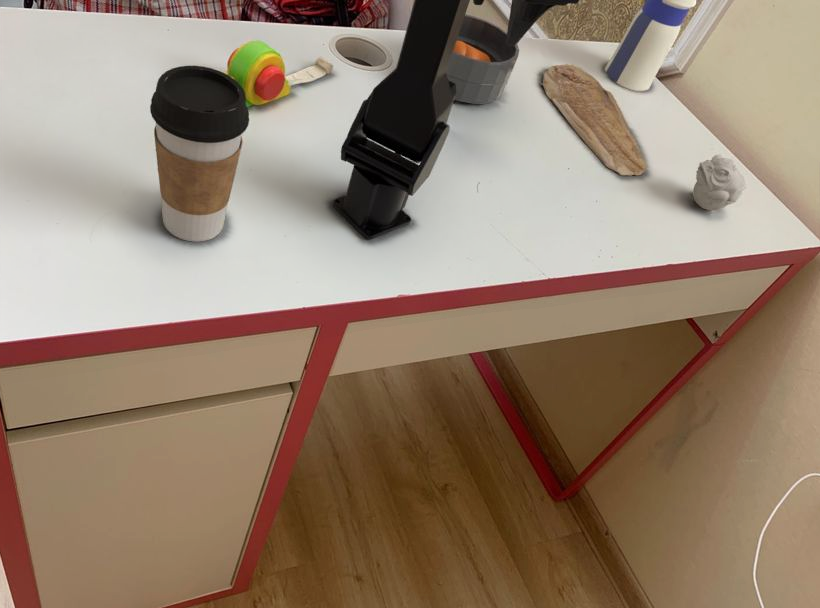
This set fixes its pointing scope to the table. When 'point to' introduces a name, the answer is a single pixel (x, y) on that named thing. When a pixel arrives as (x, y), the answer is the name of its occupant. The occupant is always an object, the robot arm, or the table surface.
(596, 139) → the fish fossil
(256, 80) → the toy measuring tape
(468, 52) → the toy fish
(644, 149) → the table surface
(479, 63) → the grey round pot
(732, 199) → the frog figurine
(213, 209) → the coffee cup
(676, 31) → the water bottle
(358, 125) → the robot arm
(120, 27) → the table surface
